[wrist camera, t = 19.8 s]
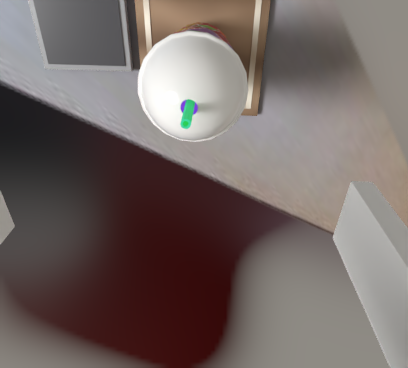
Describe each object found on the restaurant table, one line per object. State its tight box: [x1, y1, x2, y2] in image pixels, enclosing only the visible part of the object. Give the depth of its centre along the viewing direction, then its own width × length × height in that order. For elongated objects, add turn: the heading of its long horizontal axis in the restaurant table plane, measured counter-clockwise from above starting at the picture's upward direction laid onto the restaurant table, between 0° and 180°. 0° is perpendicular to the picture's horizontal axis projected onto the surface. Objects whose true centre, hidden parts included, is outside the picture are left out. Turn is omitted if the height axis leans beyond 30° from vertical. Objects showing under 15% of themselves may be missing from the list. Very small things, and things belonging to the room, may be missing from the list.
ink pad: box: [28, 0, 133, 71], centre depth 34 cm, size 10×10×1 cm
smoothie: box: [138, 22, 249, 142], centre depth 27 cm, size 8×8×20 cm
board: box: [135, 0, 271, 116], centre depth 36 cm, size 14×14×1 cm
